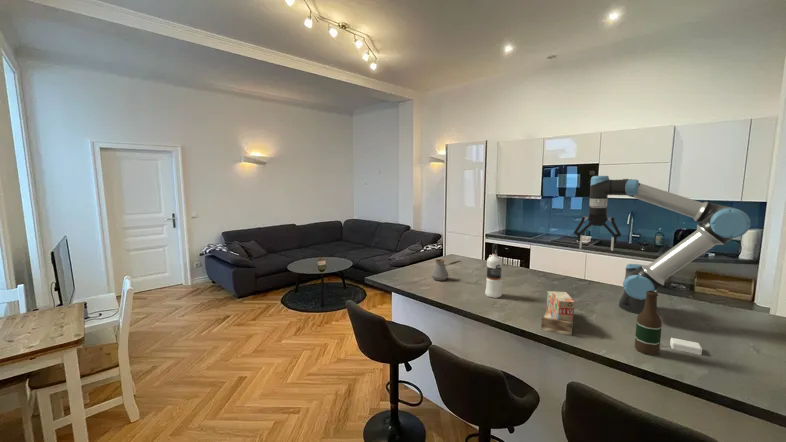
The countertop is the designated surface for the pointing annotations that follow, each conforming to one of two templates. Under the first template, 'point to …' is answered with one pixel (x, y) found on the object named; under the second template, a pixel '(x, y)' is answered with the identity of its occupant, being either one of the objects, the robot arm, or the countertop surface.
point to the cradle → (556, 325)
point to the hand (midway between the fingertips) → (595, 249)
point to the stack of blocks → (560, 306)
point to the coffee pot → (441, 270)
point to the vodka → (494, 275)
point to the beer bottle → (648, 327)
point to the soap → (686, 346)
